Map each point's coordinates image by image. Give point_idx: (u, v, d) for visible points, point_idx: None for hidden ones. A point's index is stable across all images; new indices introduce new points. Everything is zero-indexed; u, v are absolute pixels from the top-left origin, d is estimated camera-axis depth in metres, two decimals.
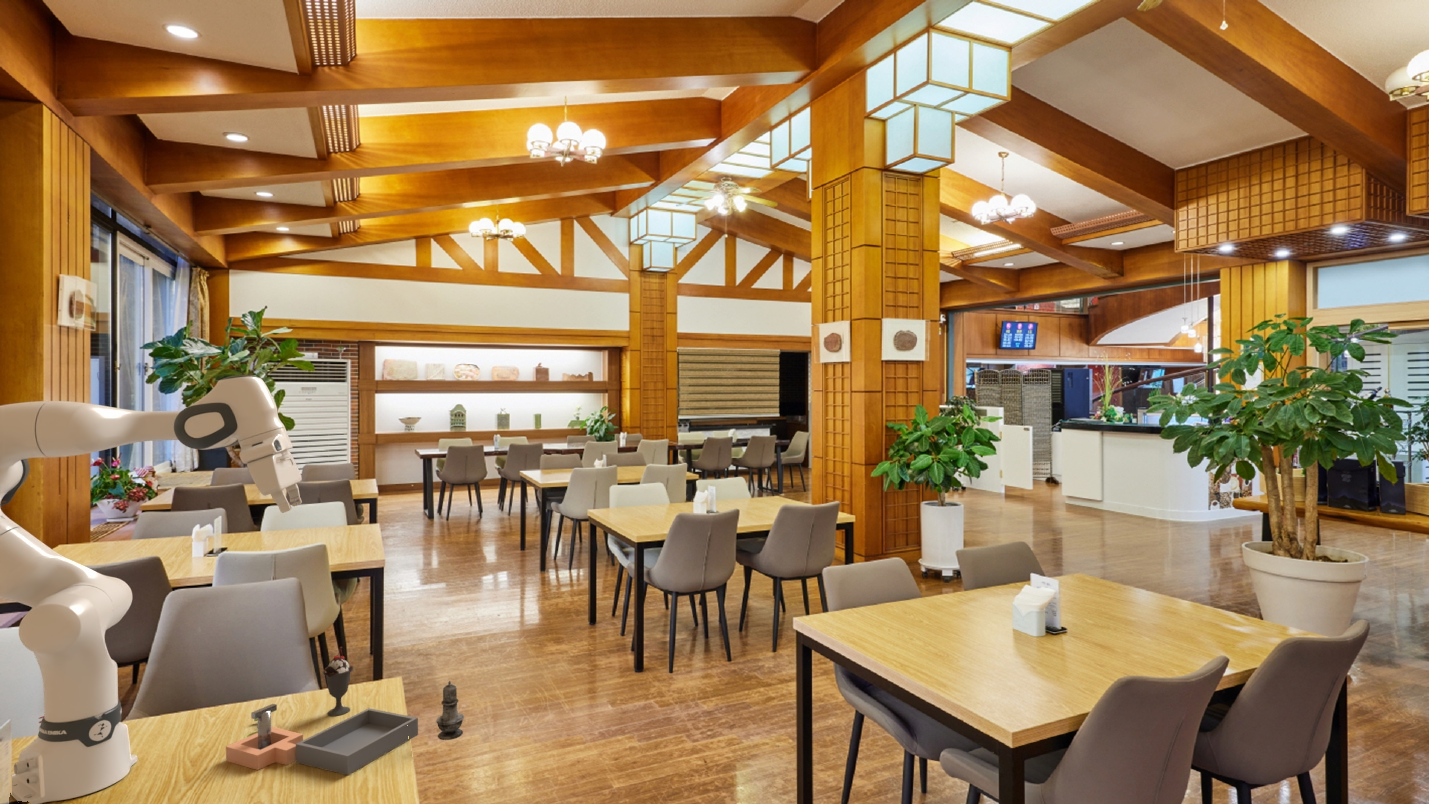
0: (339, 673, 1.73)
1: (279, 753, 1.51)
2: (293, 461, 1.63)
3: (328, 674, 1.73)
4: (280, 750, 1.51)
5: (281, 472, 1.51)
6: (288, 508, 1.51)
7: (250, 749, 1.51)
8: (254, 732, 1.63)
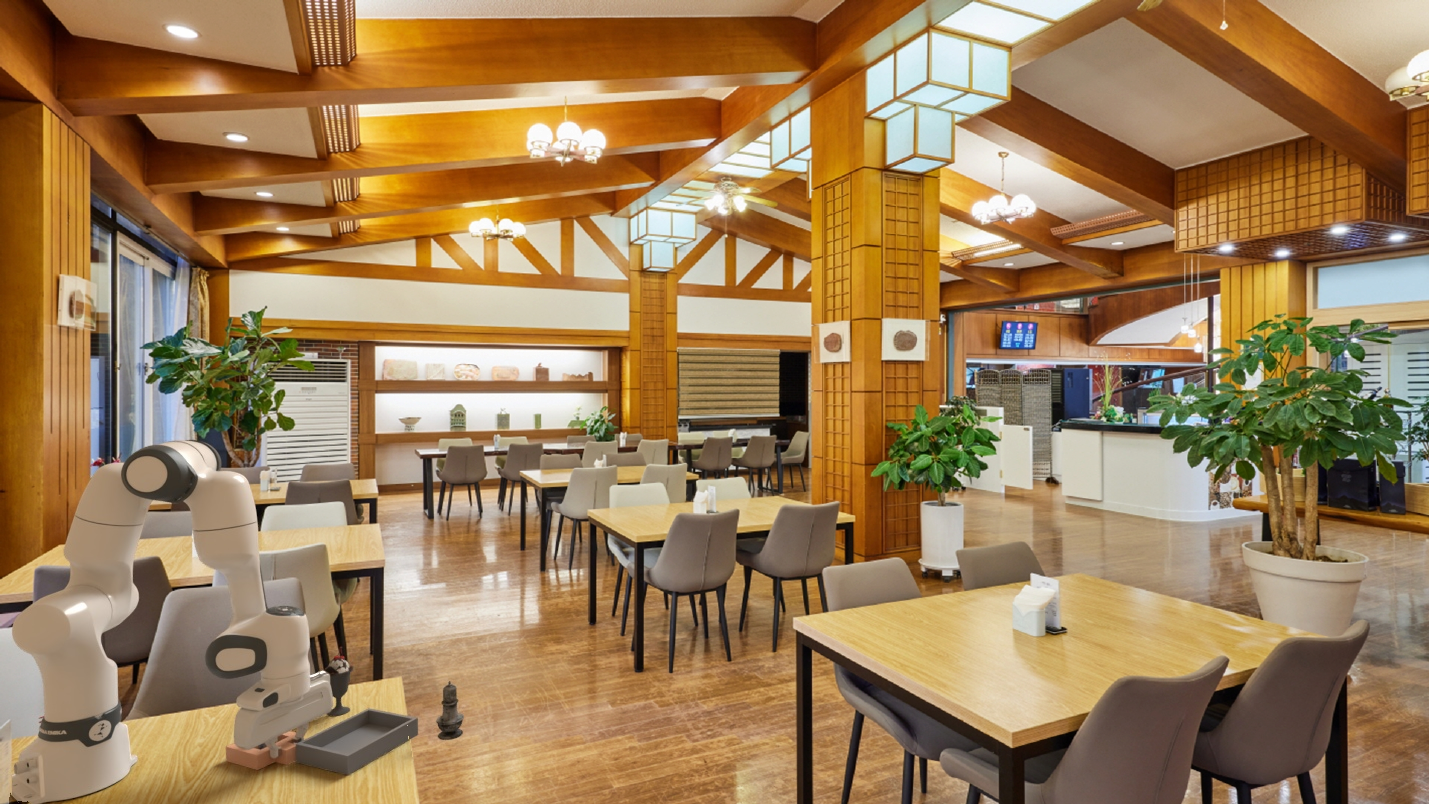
0: (339, 673, 1.73)
1: None
2: (325, 693, 1.59)
3: None
4: None
5: (271, 723, 1.48)
6: (275, 756, 1.49)
7: (250, 749, 1.51)
8: None
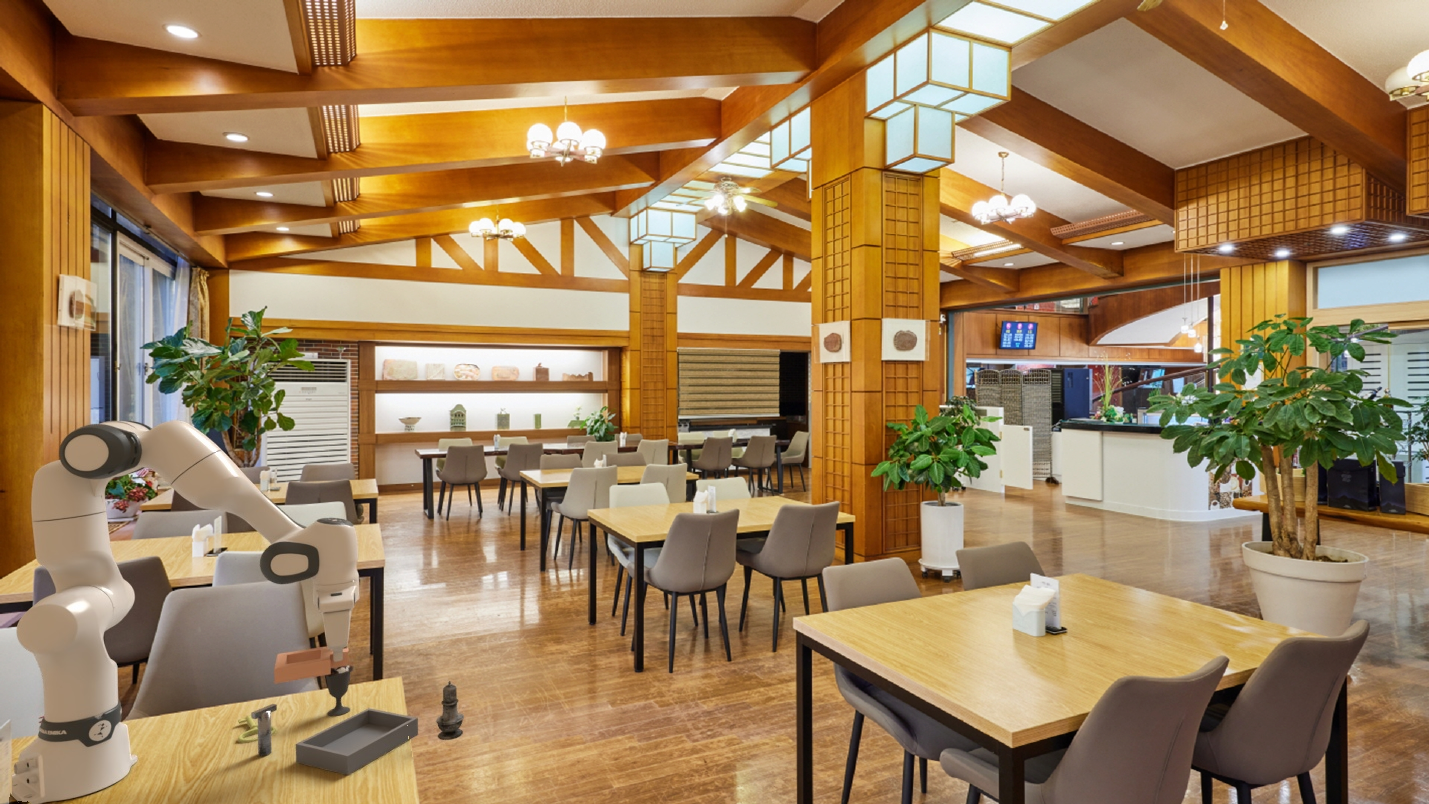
0: (339, 673, 1.73)
1: None
2: None
3: (328, 674, 1.73)
4: None
5: None
6: (341, 658, 1.55)
7: (307, 661, 1.52)
8: (247, 732, 1.64)
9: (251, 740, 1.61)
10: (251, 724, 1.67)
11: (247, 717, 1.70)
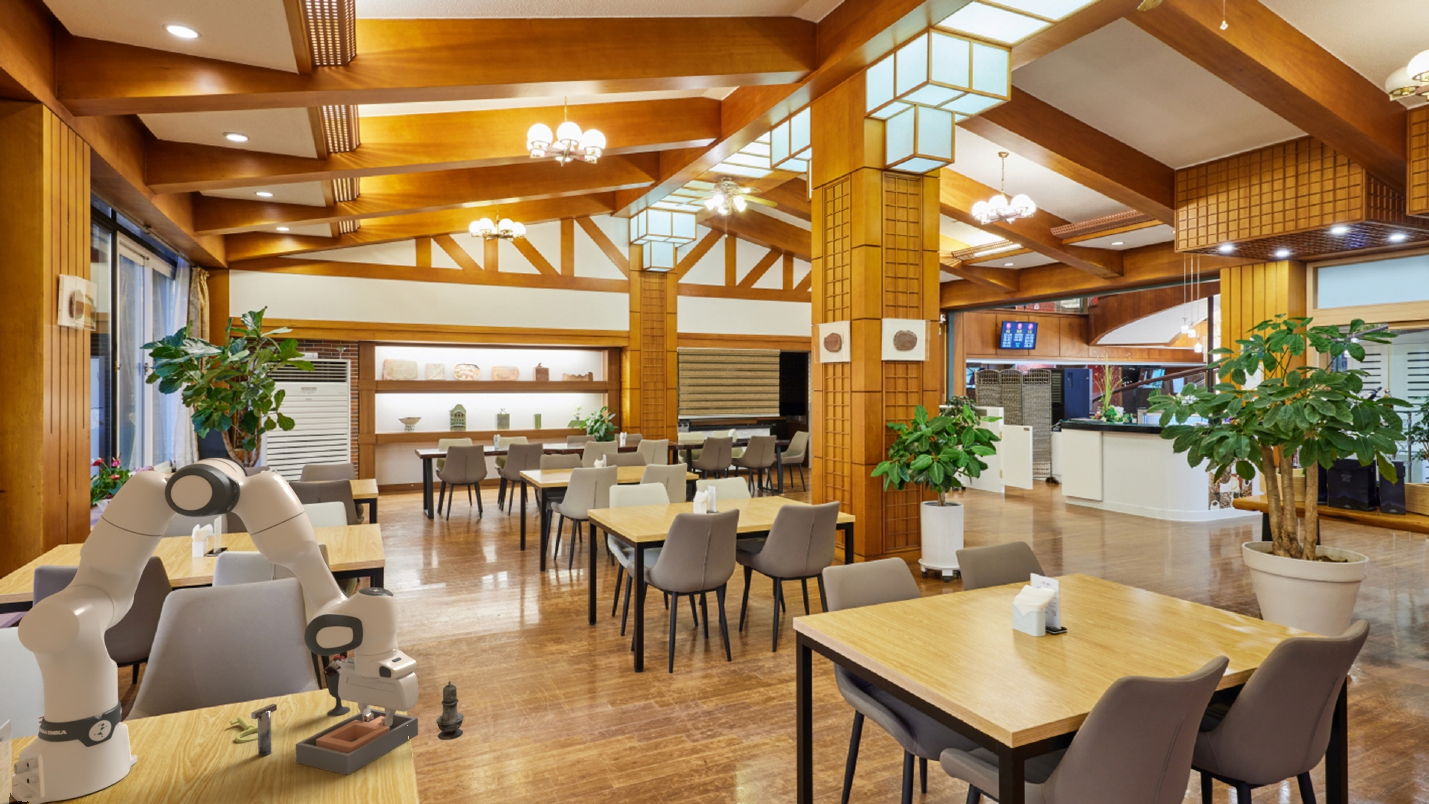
0: (339, 673, 1.73)
1: None
2: None
3: (328, 674, 1.73)
4: None
5: None
6: (391, 723, 1.61)
7: (370, 734, 1.55)
8: (244, 732, 1.63)
9: (250, 740, 1.61)
10: (245, 725, 1.67)
11: (239, 718, 1.69)
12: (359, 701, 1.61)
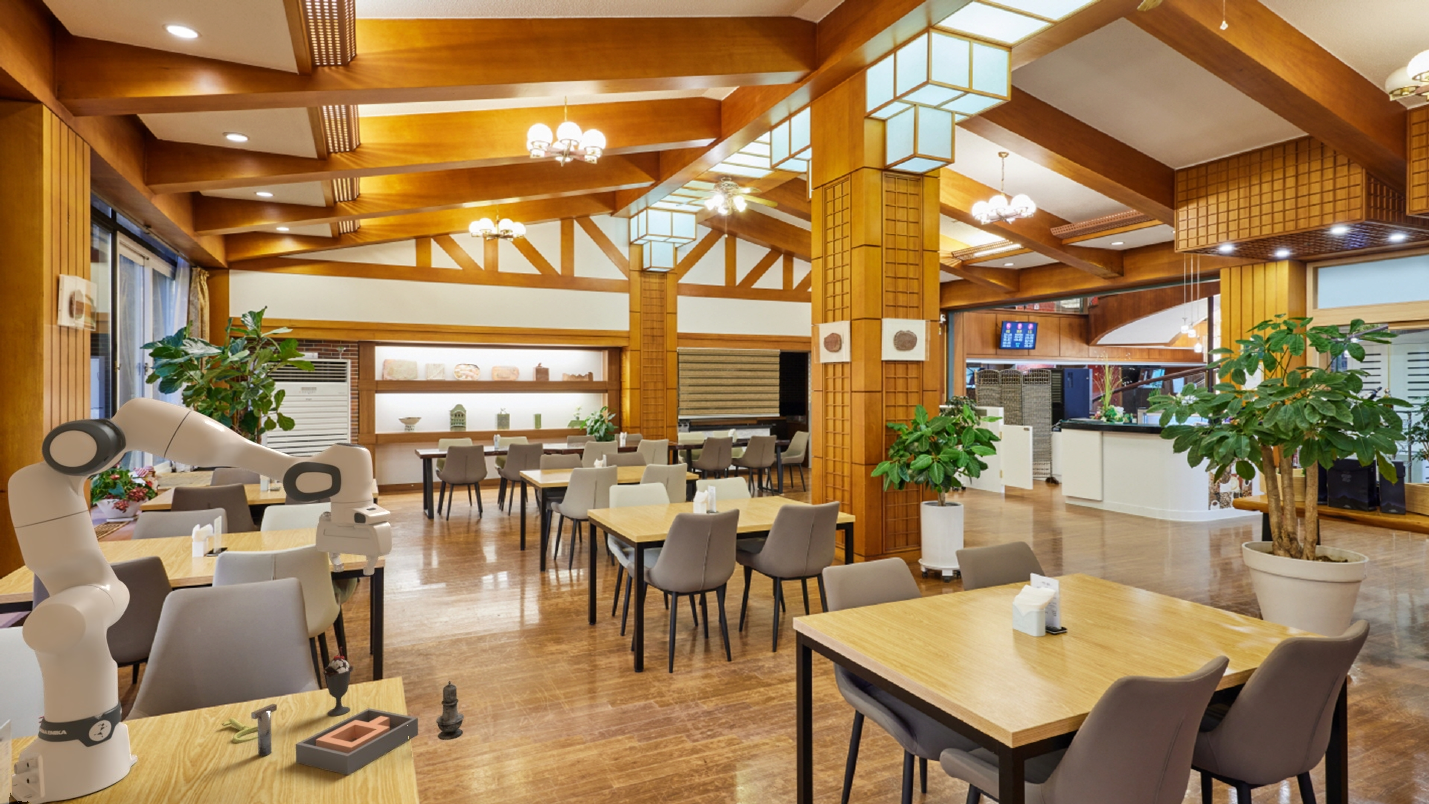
0: (339, 673, 1.73)
1: None
2: None
3: (328, 674, 1.73)
4: (383, 722, 1.62)
5: None
6: (373, 572, 1.67)
7: (370, 734, 1.55)
8: (240, 732, 1.63)
9: (248, 739, 1.61)
10: (240, 725, 1.66)
11: (231, 720, 1.68)
12: (335, 550, 1.68)
